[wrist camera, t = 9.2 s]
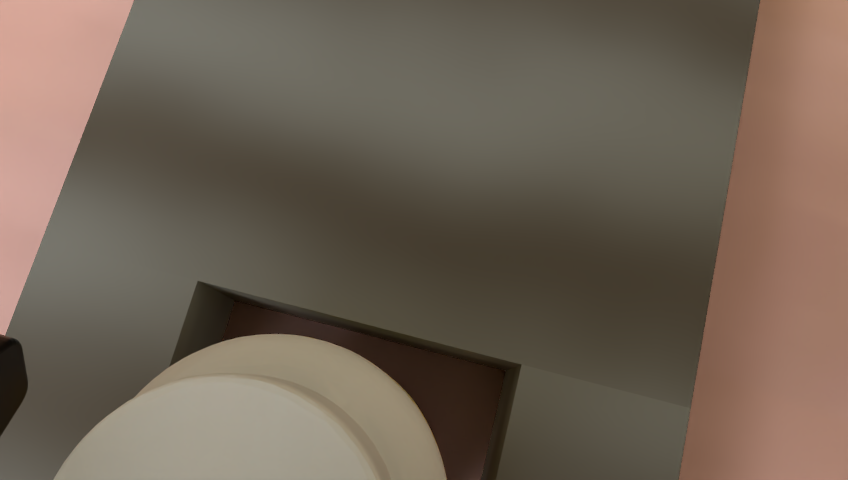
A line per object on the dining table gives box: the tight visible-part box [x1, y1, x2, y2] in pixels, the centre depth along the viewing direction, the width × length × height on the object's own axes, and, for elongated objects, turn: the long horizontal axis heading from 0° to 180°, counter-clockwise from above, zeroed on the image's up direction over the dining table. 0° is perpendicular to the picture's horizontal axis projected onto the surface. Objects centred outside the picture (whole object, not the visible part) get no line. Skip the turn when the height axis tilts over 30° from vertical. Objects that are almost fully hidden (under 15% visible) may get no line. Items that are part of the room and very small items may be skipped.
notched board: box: [0, 0, 760, 480], centre depth 17 cm, size 24×14×3 cm, turn 166°
